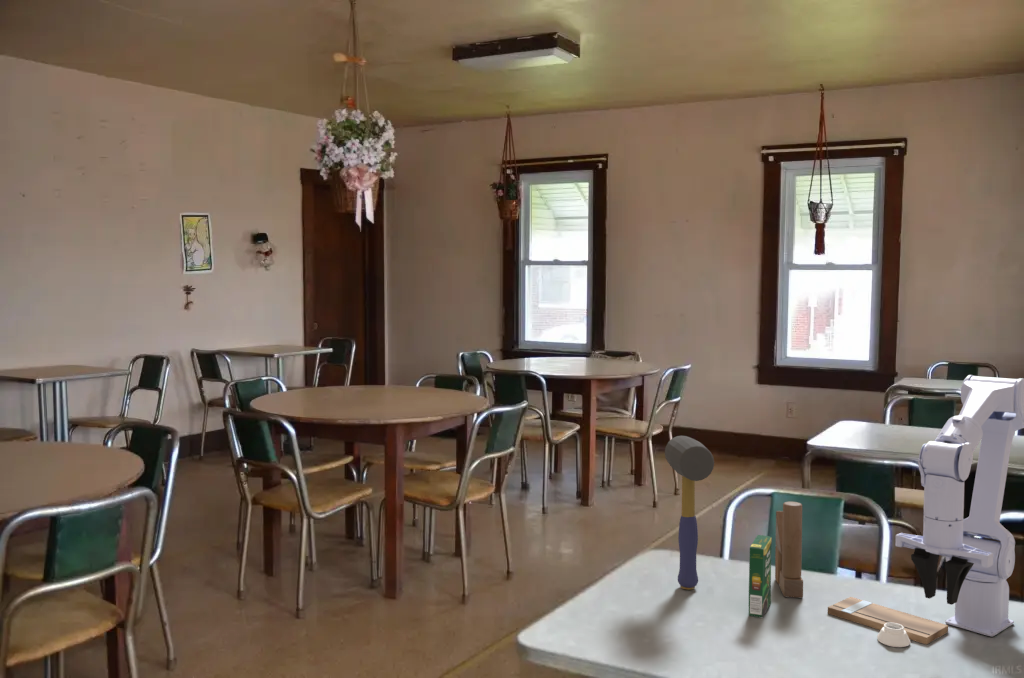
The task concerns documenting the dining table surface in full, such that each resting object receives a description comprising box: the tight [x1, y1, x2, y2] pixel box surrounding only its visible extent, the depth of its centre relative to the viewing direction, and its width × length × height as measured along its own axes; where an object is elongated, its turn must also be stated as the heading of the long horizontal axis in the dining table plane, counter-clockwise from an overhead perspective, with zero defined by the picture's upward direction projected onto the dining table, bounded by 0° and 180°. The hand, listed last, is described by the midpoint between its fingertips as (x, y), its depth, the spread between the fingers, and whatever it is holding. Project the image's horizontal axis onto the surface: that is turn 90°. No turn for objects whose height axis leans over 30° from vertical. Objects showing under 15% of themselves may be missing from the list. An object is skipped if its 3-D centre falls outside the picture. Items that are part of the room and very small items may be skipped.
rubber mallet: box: [664, 435, 715, 591], centre depth 171 cm, size 12×8×30 cm, turn 4°
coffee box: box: [748, 534, 773, 619], centre depth 160 cm, size 8×3×13 cm, turn 153°
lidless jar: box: [876, 623, 911, 648], centre depth 146 cm, size 5×3×5 cm
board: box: [827, 596, 949, 645], centre depth 154 cm, size 8×18×1 cm, turn 40°
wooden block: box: [774, 501, 804, 599], centre depth 171 cm, size 4×11×18 cm, turn 172°
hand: (941, 599), depth 140 cm, fingers open, 3 cm apart
